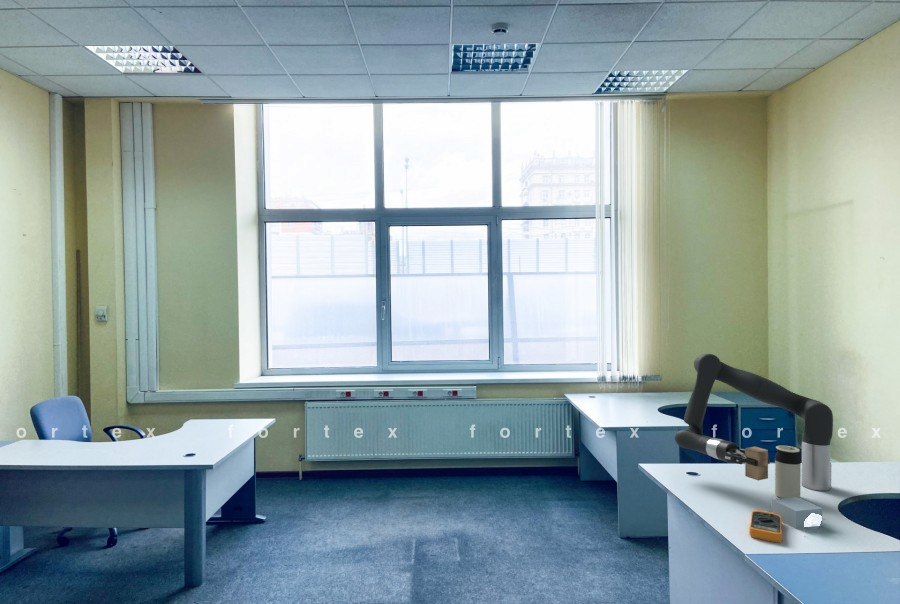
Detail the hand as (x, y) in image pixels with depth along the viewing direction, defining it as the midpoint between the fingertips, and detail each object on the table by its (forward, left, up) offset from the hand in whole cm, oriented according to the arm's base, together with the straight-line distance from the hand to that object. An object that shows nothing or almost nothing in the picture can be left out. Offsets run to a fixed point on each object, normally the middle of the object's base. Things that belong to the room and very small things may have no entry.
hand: (763, 462), depth 189 cm
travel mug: (-18, -4, -16) cm, 24 cm away
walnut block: (0, -3, -6) cm, 7 cm away
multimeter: (+16, +13, -17) cm, 26 cm away
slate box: (0, +12, -16) cm, 20 cm away
